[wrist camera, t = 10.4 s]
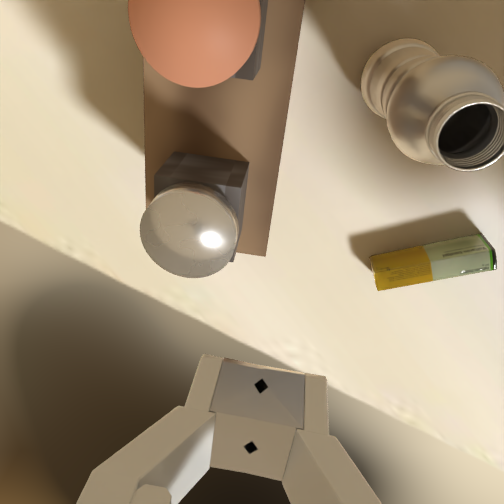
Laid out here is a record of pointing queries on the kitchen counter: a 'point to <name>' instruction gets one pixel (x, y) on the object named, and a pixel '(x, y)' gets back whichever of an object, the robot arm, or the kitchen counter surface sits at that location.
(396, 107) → the plastic bottle
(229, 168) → the stand
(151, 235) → the grey plunger
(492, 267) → the medication box
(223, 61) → the orange ball
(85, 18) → the kitchen counter surface
